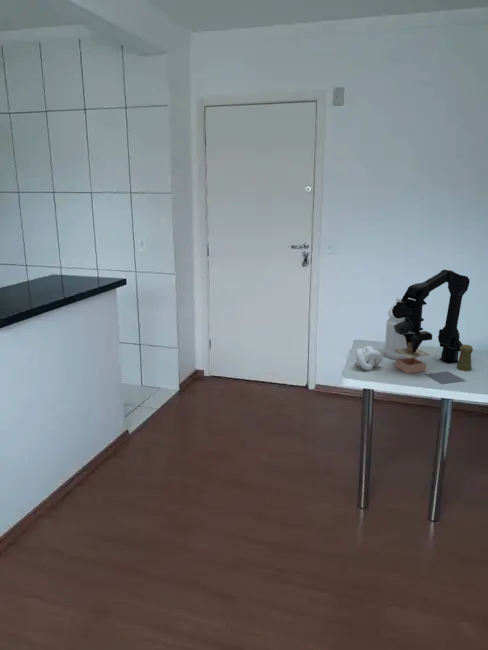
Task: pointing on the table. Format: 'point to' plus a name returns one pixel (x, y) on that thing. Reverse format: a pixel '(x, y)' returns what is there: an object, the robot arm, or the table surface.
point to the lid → (411, 351)
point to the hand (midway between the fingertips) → (411, 350)
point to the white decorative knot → (368, 358)
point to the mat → (445, 377)
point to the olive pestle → (465, 358)
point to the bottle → (394, 335)
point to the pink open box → (410, 365)
